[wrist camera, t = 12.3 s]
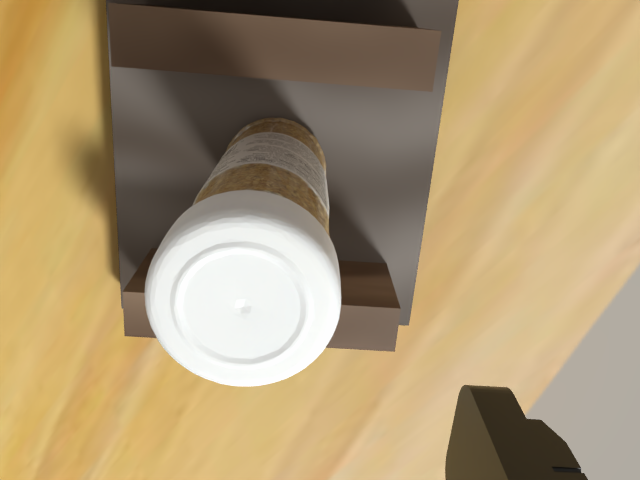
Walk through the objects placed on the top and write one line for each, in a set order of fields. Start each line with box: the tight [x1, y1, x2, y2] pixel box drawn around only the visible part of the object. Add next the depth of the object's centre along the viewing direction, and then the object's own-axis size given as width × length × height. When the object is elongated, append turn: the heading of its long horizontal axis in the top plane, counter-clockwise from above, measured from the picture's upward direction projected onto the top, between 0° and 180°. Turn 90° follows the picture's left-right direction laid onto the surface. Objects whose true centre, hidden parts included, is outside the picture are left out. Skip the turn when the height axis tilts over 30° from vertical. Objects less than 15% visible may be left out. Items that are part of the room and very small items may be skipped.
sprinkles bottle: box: [145, 118, 341, 386], centre depth 19 cm, size 5×5×13 cm
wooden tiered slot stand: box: [106, 0, 459, 352], centre depth 21 cm, size 17×14×12 cm
